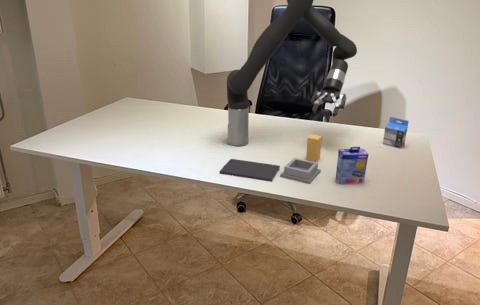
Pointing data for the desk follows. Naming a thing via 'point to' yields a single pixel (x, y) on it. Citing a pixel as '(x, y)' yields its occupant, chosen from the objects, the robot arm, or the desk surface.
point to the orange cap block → (313, 148)
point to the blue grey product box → (395, 133)
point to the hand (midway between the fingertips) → (323, 114)
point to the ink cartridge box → (351, 165)
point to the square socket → (301, 170)
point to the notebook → (250, 169)
